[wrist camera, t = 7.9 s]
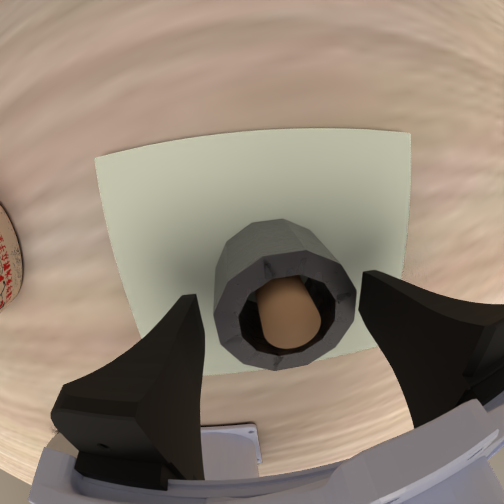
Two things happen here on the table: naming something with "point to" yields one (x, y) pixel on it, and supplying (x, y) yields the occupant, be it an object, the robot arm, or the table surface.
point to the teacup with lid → (9, 262)
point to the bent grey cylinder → (62, 445)
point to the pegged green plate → (255, 210)
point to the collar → (275, 266)
